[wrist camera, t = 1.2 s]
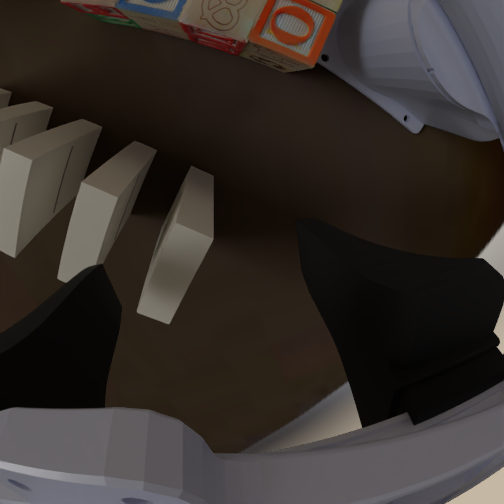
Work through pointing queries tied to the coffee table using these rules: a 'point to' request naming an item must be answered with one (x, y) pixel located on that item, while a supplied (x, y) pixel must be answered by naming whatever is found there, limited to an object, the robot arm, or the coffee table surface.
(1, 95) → the domino
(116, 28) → the coffee table surface
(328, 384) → the coffee table surface
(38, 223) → the domino
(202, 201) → the domino
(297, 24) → the stack of blocks
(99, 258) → the domino
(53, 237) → the coffee table surface
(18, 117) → the domino
